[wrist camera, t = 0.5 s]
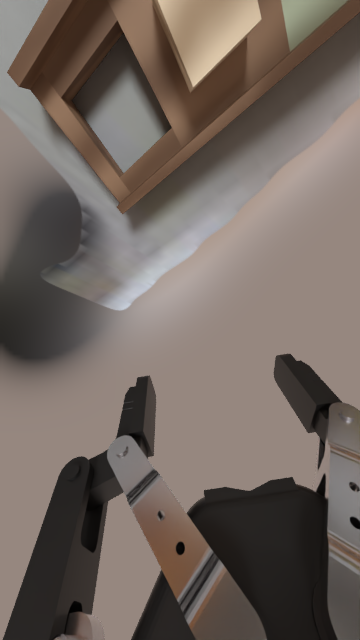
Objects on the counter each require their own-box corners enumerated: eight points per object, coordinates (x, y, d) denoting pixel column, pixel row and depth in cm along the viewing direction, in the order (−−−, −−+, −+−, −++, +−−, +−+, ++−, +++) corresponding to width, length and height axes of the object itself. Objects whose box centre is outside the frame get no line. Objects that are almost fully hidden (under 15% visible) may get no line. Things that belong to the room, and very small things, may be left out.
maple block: (152, 2, 17) (147, -24, 14) (217, -82, 14) (228, -135, 11) (190, 92, 20) (193, 87, 17) (247, 36, 18) (261, 19, 15)
